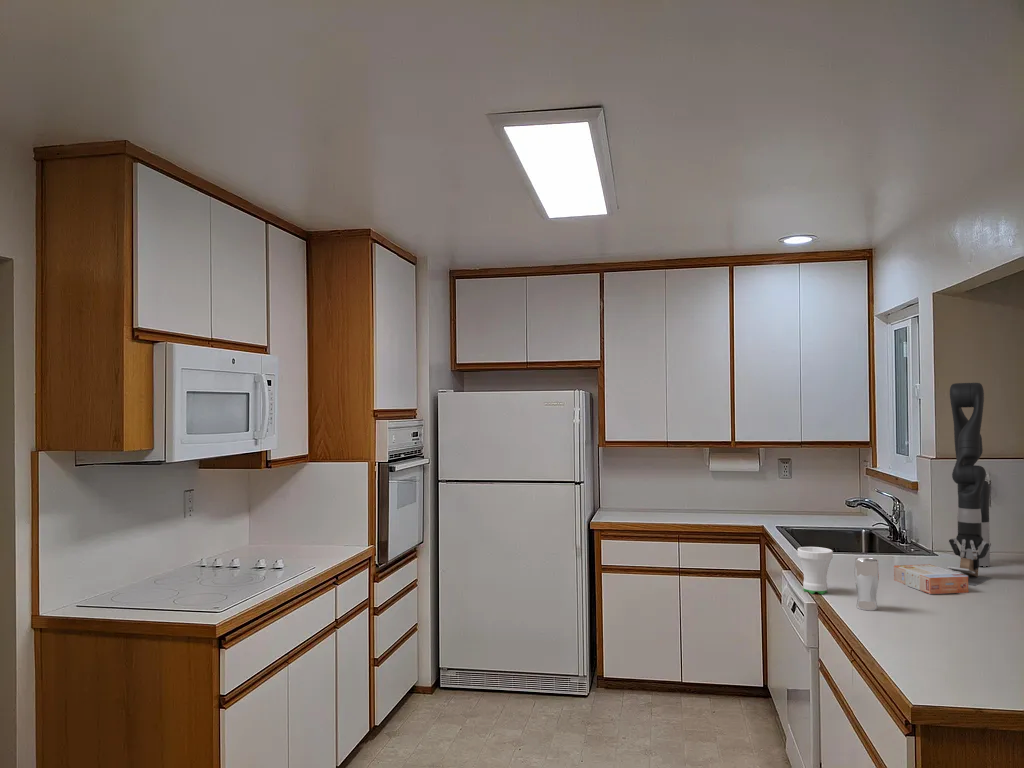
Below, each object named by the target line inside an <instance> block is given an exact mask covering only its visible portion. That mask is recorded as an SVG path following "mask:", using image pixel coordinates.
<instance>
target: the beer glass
mask: <svg viewBox="0 0 1024 768" xmlns="http://www.w3.org/2000/svg"><path fill="white" fill-rule="evenodd" d="M879 566H880V565H879V560H878V559H877V558H872V557H856V558H854V581H855V587H856V591H857V602H856V608H857V609H858V610H861V611H867V612H869V611H870V612H872V611H874V612H875V611H878V608H879V607H878V601H877V595H878V594H877V593H878V589H879V582H880V567H879Z"/></svg>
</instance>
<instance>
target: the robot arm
mask: <svg viewBox="0 0 1024 768" xmlns="http://www.w3.org/2000/svg"><path fill="white" fill-rule="evenodd" d="M949 400H950V401H949V402H950V406H951V407H950V408H951V413H952V419H953V420H952V421H953V435H954V437H953V439H954V451H955V459H956V461H955V464H954V467H953V469H952V473H951V477H952V480H953V482H954V483H956V484H957V507H958V508H957V517H956V519H957V535H956V537H954V538H950V539H948V543H949V544H950V546H951V549H952V551H953V553H954V555H956V556H958V557H960V559H961V558H968V559H971V560H973V561H974V570H977V568H978V569H979V568H980V567H979V566H983V567H982V568H985V567H986V566H988V567H991V561H990V559H991V557H990V555H991V553H990V551H991V549H990V548H991V546H992V543H991V542H990V539H991V538H990V498H991V497H990V496H991V494H990V493H991V491H990V490H991V489H990V483H989V481H988V480H986V477H987V472H986V469H985V468H984V467H983V466H982V465H976V463H977V462H978V461H979V459H980V458H981V456H982V455H983V451H984V449H983V438H982V434H981V429H982V428H981V427H982V421H983V413H984V404H985V403H984V402H985V392H984V387H983V384H982V383H980V382H957V383H952V384H951V385H950V387H949ZM962 408H973V411H972V413H971V416H970V418H969V419H968V418H967V417H966V415H965V413H964V411H963V409H962ZM958 544H959V545H960V546H961V547H960V548H959V546H958ZM986 568H987V567H986Z"/></svg>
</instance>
